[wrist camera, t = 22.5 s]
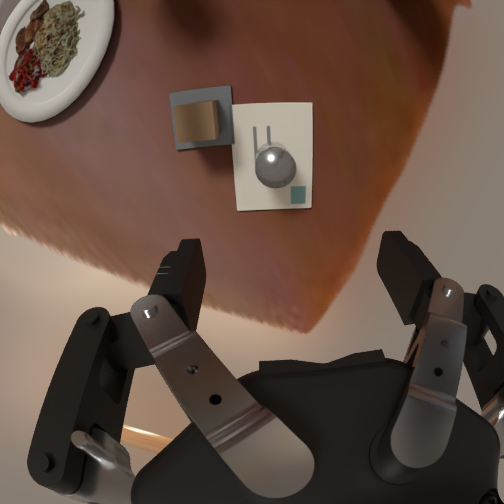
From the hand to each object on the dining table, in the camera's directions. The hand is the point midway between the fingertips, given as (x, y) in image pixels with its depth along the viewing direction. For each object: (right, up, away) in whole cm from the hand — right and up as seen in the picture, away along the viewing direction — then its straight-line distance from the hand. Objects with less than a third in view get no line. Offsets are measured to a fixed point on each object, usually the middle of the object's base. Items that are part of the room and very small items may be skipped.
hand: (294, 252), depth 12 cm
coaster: (-9, +20, +26) cm, 33 cm away
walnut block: (-9, +19, +25) cm, 33 cm away
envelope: (+1, +14, +29) cm, 32 cm away
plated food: (-37, +36, +15) cm, 54 cm away
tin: (+1, +14, +29) cm, 32 cm away
